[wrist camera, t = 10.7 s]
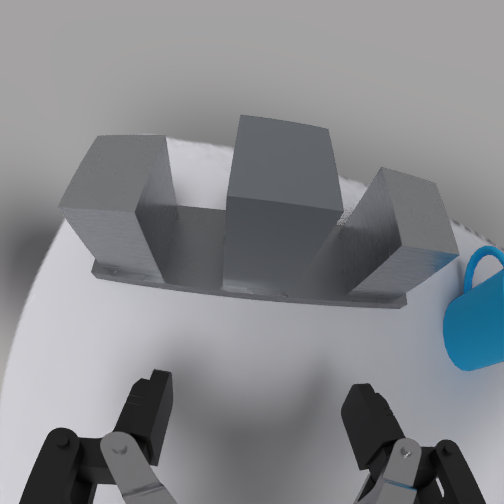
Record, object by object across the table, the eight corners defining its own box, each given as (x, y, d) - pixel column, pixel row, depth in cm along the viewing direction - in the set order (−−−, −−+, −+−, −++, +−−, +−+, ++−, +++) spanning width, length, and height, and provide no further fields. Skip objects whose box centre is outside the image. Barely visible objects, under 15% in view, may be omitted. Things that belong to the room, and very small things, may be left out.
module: (290, 221, 23) (327, 126, 14) (291, 291, 20) (343, 211, 11) (231, 214, 23) (240, 112, 14) (222, 285, 20) (227, 195, 11)
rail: (389, 240, 25) (442, 181, 17) (399, 308, 22) (470, 263, 14) (119, 208, 23) (89, 131, 15) (96, 278, 20) (42, 213, 12)
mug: (488, 367, 19) (544, 348, 12) (444, 374, 19) (509, 356, 12) (476, 270, 25) (521, 236, 18) (433, 260, 25) (482, 219, 18)
